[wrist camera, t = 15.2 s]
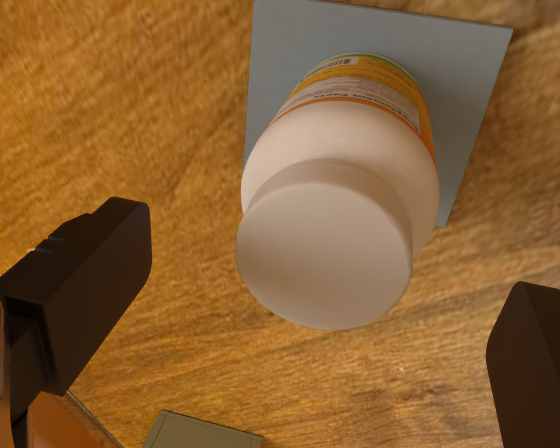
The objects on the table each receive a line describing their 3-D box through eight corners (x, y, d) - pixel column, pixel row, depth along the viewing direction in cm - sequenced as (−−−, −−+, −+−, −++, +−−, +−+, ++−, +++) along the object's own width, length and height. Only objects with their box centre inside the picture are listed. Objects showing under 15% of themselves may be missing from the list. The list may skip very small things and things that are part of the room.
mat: (245, 182, 22) (241, 188, 21) (258, -10, 17) (254, -8, 17) (443, 221, 21) (445, 228, 20) (510, 26, 16) (514, 29, 16)
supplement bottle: (385, 203, 20) (372, 385, 12) (270, 149, 20) (178, 295, 12) (457, 88, 17) (506, 226, 9) (322, 23, 17) (249, 104, 9)
